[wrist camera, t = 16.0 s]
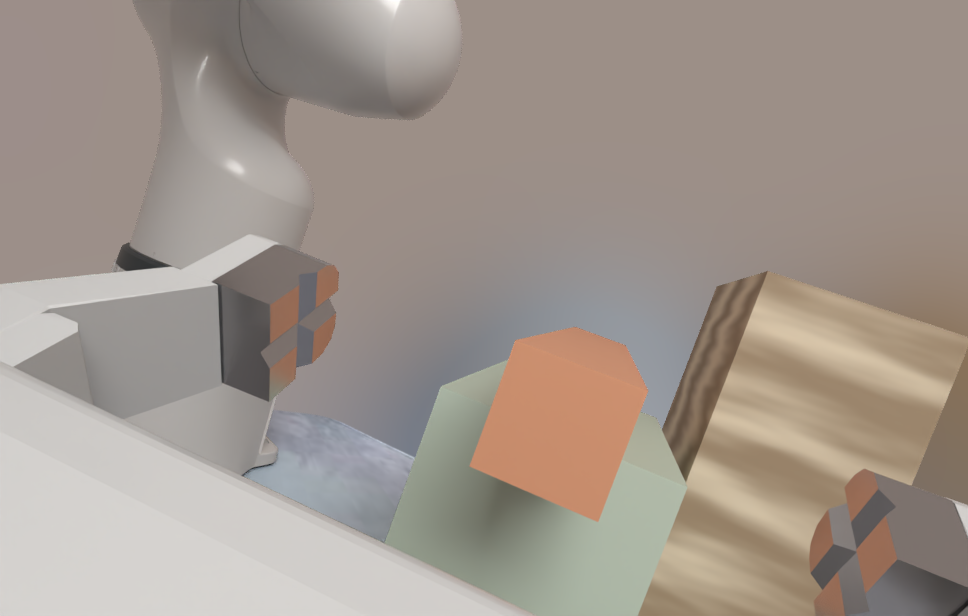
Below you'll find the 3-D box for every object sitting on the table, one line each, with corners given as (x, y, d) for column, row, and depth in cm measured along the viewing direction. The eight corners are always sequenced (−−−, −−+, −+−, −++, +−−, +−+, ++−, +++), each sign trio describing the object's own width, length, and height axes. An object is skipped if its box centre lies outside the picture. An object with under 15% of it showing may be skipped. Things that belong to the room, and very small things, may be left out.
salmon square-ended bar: (598, 522, 15) (648, 390, 15) (469, 466, 16) (515, 340, 16) (606, 395, 41) (625, 345, 41) (557, 375, 41) (575, 326, 41)
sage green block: (537, 874, 23) (687, 487, 23) (310, 747, 25) (440, 386, 25) (566, 651, 39) (656, 417, 38) (425, 583, 41) (507, 359, 40)
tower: (779, 808, 32) (971, 338, 30) (595, 716, 34) (767, 271, 32) (723, 646, 48) (849, 331, 46) (600, 590, 49) (716, 286, 48)
